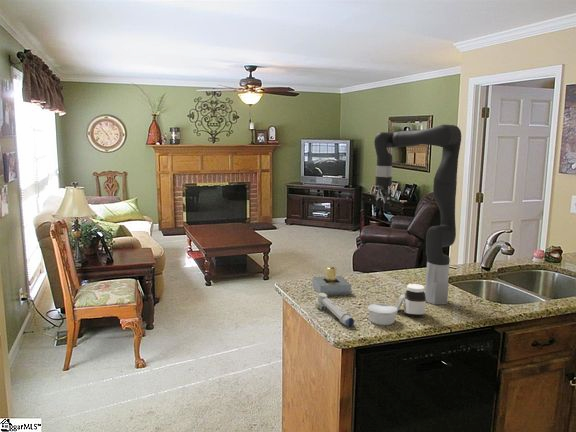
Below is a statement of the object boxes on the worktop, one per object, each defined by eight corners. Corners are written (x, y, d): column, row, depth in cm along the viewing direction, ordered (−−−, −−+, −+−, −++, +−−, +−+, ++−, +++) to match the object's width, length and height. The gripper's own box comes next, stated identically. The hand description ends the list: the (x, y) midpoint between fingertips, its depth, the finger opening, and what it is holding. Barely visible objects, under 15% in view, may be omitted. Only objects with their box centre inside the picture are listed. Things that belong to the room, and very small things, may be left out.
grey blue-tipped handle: (344, 318, 177) (314, 289, 198) (342, 334, 178) (312, 304, 200) (356, 316, 179) (325, 288, 200) (354, 332, 181) (323, 302, 202)
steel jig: (350, 294, 216) (350, 284, 215) (320, 295, 213) (320, 285, 212) (341, 284, 229) (341, 275, 228) (312, 286, 226) (312, 276, 226)
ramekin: (394, 316, 190) (395, 303, 189) (398, 327, 179) (399, 314, 178) (366, 315, 191) (366, 302, 190) (368, 325, 180) (368, 312, 179)
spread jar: (426, 319, 188) (428, 290, 186) (397, 318, 188) (399, 289, 186) (419, 308, 199) (421, 281, 197) (392, 307, 200) (393, 280, 198)
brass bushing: (336, 289, 219) (337, 268, 218) (327, 289, 218) (328, 269, 217) (334, 286, 224) (334, 266, 222) (324, 286, 223) (325, 266, 221)
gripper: (370, 174, 231) (369, 207, 233) (382, 176, 217) (380, 212, 219) (385, 174, 232) (383, 207, 235) (397, 176, 218) (395, 212, 221)
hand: (382, 209), depth 227 cm, fingers open, 8 cm apart
